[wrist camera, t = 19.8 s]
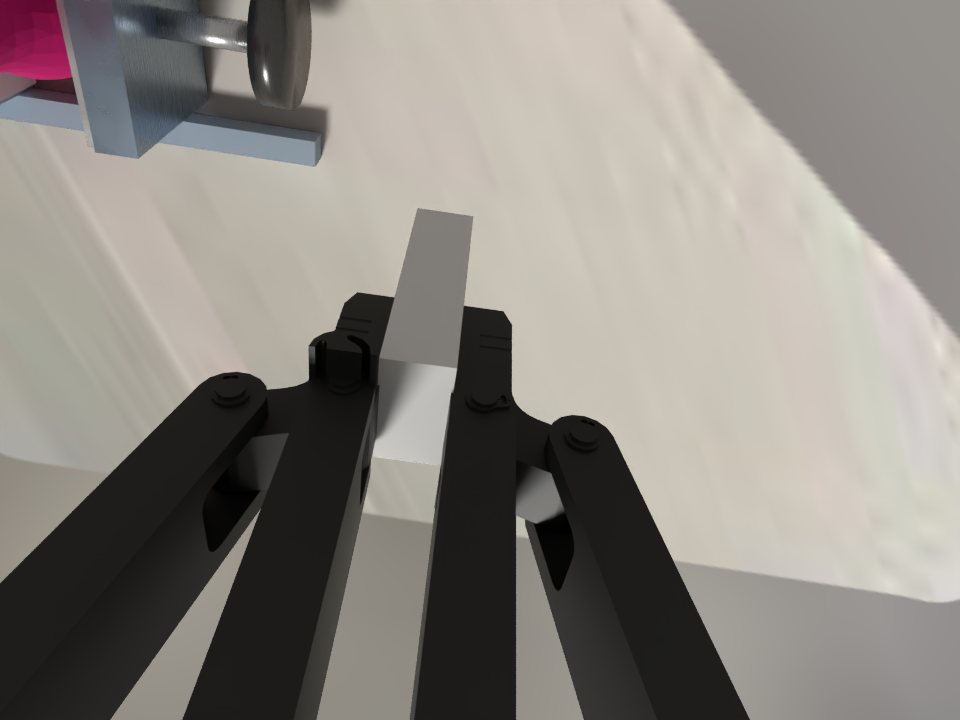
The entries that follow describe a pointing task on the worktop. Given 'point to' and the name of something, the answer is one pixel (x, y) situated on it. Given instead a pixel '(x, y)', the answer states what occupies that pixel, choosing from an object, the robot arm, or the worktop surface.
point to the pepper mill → (32, 40)
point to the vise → (199, 131)
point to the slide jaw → (173, 63)
